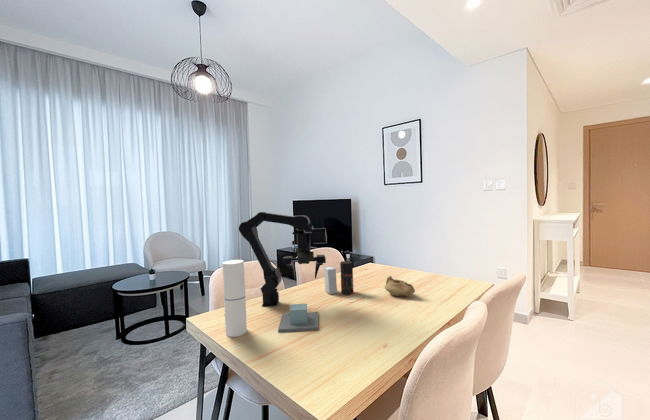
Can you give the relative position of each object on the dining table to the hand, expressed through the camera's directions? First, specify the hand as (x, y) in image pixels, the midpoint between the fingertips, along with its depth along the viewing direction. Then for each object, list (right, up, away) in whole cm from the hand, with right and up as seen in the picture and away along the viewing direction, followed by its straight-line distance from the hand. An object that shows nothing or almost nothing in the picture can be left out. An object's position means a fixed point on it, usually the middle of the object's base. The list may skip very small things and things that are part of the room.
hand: (305, 278), depth 127 cm
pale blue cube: (-1, -11, -20) cm, 22 cm away
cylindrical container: (-23, -13, -26) cm, 36 cm away
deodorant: (+20, -10, +13) cm, 26 cm away
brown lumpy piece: (+44, -10, +7) cm, 46 cm away
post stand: (-1, -12, -20) cm, 23 cm away
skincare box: (+12, -10, +15) cm, 22 cm away
